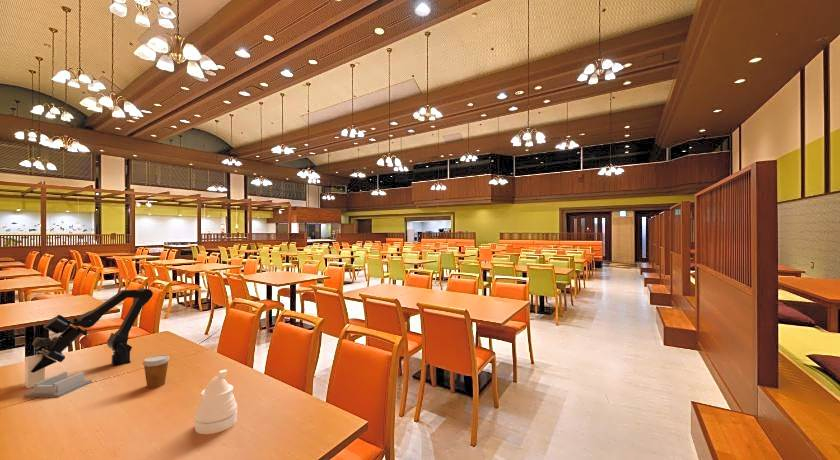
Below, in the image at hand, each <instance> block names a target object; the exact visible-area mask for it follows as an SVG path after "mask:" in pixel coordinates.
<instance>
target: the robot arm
mask: <svg viewBox="0 0 840 460" xmlns="http://www.w3.org/2000/svg"><path fill="white" fill-rule="evenodd" d="M153 295H154V292H153V291H152V289H150V288H144V287H141V288H137V289H121V290H119V292H118V293H116V294H115V295H113V296H112V297H110V298H108V300H106V301H104V302H103V303H101V304H100V305H98V306H96V308H94V309H92V310H89V311H87V312H84V313H82V314H81V315H79V316H78V317H76V318H72V319H67V318H65V317H64V316H63V315H61V314H57V315H56V316H54V317H52V318H51V319H49V320H47V321H46V323H45V324H44V325H43V328H44V329H45V330H48V331H50V332H51V333H54V334H60V335H58V336H57V337H56V336H54V337H53V338H52V339H51V338H50V337H35V338H34V340H33V341H32V343H31V346H33V347H35V348H34V349H35V350H36V351H35V355H39V354H43V355H42V356H41V360H40V361H39V362H38V364H37V365H36V366H35V367H34V368H33V369H32V370H31V372H33V373H34V372H36V371H38V370H40V369H42V368H44V367H45V368H46V367H48V366H51V365H53V364H55V363H62V362H63V361H64V360H65V359H66V356H65V355H64V353H63V351H64V350H65V349H67V348H68V347H69V348H70V347H71V346H72V343H73V342H74V341H76V339H78V338H79V337H80V336H81V335H83V336H87V335H88V333H87V332H88V330H87V329H89V328H92V327H93V326H95V324H97V322H99V320H101V318H102V316H103V315H105V314H106V313H108V312H109V311H110V310H112V309H114V307H116V306H117V305H119V304H120V303H122V302H123V301H124V300H126V299H128V298H130V299H131V298H132V305H131V307H130V308H129V310H128V312H127V314H126V315H125V317H124V319H123V321H122V323H121V325H120V326H119V328H118V330H117V331H116V332H115V333H114V332H111V333H110V335H109V337H108V339H107V340H106V342H107V347H108V348H109V349H111V350H112V352H113V353H112V355H111V364H112V365H113V366H114V367H116V366H120V365H125V364H130V363H131V362H132V361H131V351H132V349H133V346H132V345H129V344H128V340H129V336H130V335H129V333H130V331H131V330H132V327H133V325H134V323H135V322H136V320H137V318H138V316H139V314H140V313H141V311H142V309H143V307H144V306H145V305H146V304H147V303H148V302H149V301H150V300H151V298H152V297H153ZM71 325H72V326H71ZM83 328H84V329H83Z"/></svg>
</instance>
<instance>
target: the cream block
mask: <svg viewBox="0 0 840 460" xmlns="http://www.w3.org/2000/svg"><path fill="white" fill-rule="evenodd" d="M42 355H43V354H39V355H36V354H34V355H29V356H25V357H24V387H26V388H27V389H31V388H34V384H35V383H37V382H40V381H42V380H45V379H46V378H45V377H46V376H45V375H46V374H45V371H46V369H45V368H46V367H44V368H42V369H40V370H38V371H36V372H34V373H33V372H31V370H32V369H33V368H34V367H35V366H36V365H37V364H38V362H39V361H40V360H41V356H42Z"/></svg>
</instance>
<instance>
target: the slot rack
mask: <svg viewBox="0 0 840 460" xmlns="http://www.w3.org/2000/svg"><path fill="white" fill-rule="evenodd" d="M92 383H93V380H92V379H85V371H81V372H79V373H76V374H73V375H71V376H69V377H68V371H64V372H61V373H58V374H56V375H53V376H51V377H48V378H45V380H42V381H40V382H37V383H35V384H34V387H33V390H32V391H30V392H28V393H26V394H24V397H25V398H61V397H62V396H65V395H67V394H69V393H71V392H73V391H76V390H78V389H81V388H84V387H85V386H86V385H90V384H92Z"/></svg>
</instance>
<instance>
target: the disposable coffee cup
mask: <svg viewBox="0 0 840 460" xmlns="http://www.w3.org/2000/svg"><path fill="white" fill-rule="evenodd" d="M170 359H171V358H170V357H169V355H168V354H156V355H150V356H148V357H146V358H145V359H144V360H143V362H142V365H143V368H144V374H145V382H146V388H148V389H154V388H159V387H162V386H163V385H165V383H166V378H167V373H168V366H169V361H170Z"/></svg>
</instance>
